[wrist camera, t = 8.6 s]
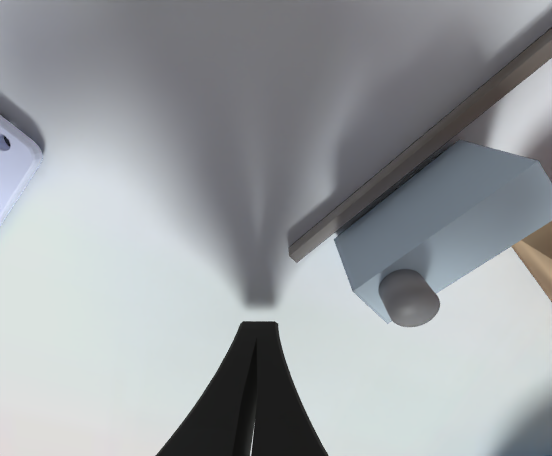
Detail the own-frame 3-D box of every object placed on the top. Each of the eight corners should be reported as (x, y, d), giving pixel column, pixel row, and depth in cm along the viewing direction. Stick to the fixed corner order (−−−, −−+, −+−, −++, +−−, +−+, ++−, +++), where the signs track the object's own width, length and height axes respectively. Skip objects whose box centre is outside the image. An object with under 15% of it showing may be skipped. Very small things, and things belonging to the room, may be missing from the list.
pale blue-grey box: (333, 239, 10) (360, 312, 7) (459, 139, 9) (573, 170, 5) (360, 266, 11) (397, 346, 7) (484, 175, 9) (603, 225, 6)
